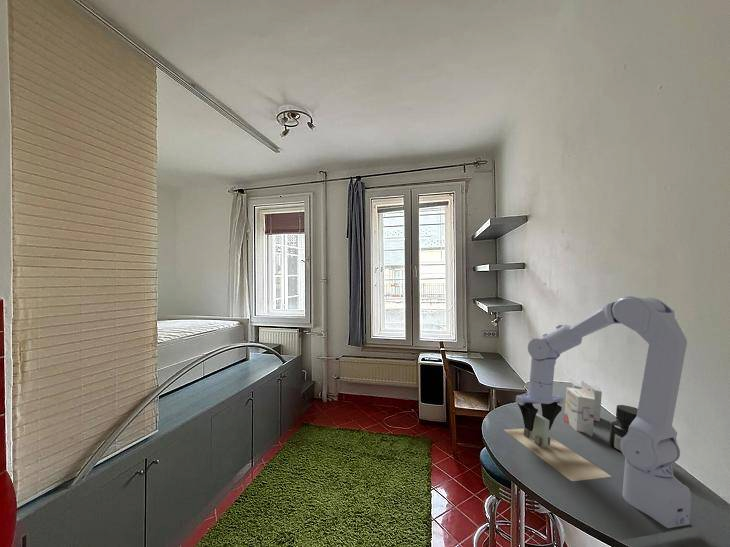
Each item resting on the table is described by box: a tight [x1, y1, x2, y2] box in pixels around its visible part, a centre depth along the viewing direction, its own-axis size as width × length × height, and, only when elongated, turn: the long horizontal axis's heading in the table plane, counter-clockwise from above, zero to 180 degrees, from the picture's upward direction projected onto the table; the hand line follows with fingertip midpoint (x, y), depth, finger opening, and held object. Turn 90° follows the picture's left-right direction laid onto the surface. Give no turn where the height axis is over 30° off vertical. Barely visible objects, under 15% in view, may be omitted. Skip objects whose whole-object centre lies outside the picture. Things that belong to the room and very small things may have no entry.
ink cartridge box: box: [563, 380, 595, 437], centre depth 95 cm, size 9×5×15 cm, turn 168°
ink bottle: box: [608, 404, 638, 455], centre depth 83 cm, size 10×9×12 cm
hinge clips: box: [523, 427, 551, 446], centre depth 84 cm, size 6×4×2 cm
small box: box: [572, 381, 603, 422], centre depth 106 cm, size 8×6×10 cm
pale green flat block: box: [529, 412, 550, 446], centre depth 84 cm, size 6×2×7 cm, turn 14°
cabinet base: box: [504, 428, 613, 482], centre depth 79 cm, size 22×12×1 cm, turn 14°
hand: (537, 428), depth 84 cm, fingers open, 6 cm apart
